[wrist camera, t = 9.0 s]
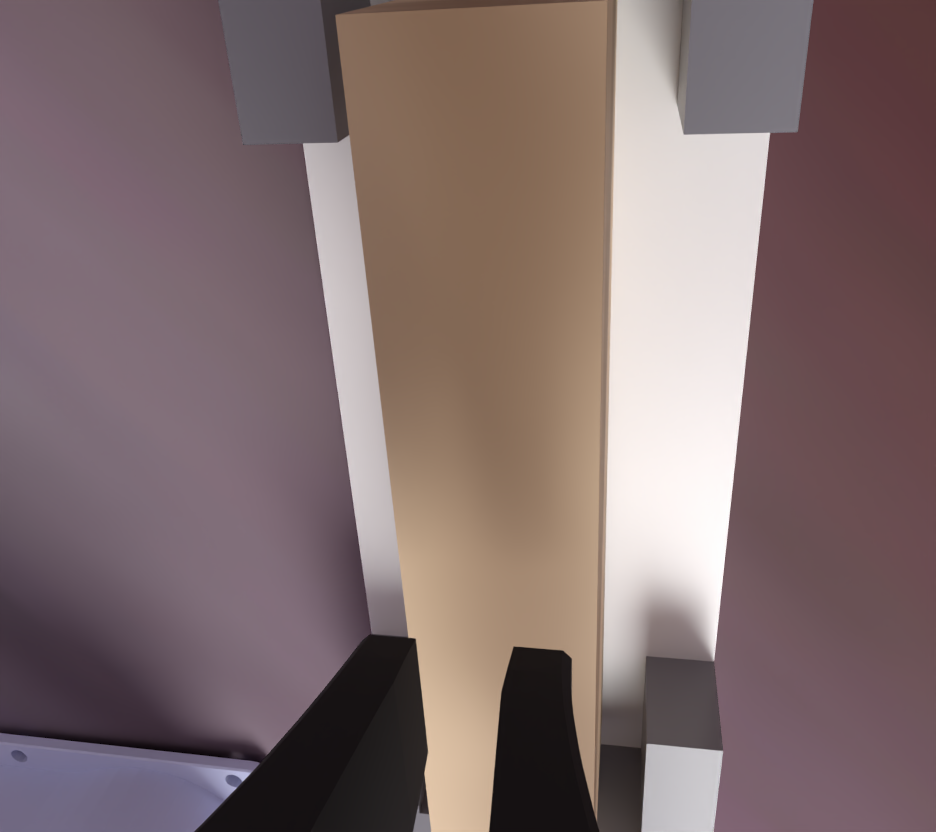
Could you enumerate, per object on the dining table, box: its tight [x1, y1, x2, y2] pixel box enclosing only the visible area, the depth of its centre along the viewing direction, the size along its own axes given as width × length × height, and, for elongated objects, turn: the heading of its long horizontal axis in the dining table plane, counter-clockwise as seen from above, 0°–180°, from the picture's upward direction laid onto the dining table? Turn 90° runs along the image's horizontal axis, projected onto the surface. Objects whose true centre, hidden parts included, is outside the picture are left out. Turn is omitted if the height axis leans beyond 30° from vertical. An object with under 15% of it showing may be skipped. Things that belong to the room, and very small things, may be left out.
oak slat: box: [335, 0, 618, 832], centre depth 15 cm, size 3×16×5 cm, turn 3°
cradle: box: [218, 0, 813, 832], centre depth 17 cm, size 8×21×4 cm, turn 3°
